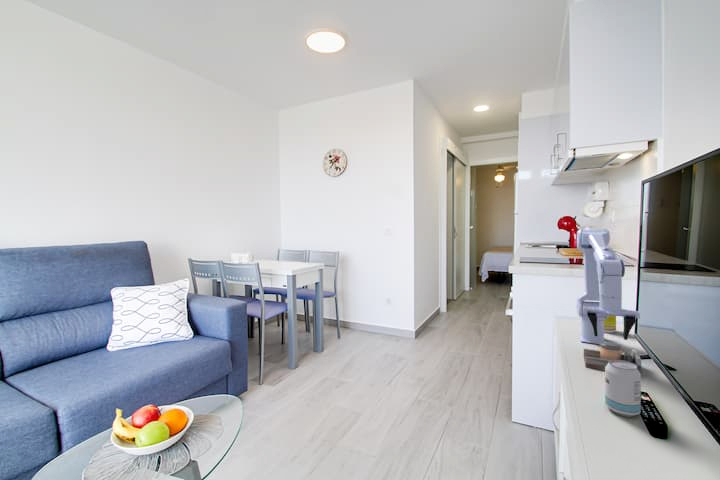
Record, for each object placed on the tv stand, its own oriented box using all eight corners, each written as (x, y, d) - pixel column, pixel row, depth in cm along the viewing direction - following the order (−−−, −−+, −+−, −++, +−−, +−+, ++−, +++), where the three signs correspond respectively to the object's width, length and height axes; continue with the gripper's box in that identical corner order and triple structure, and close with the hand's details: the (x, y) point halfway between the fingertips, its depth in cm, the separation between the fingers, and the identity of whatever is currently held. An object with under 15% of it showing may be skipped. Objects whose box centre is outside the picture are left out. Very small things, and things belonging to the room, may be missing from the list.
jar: (599, 357, 110) (599, 340, 110) (620, 361, 107) (620, 343, 107) (600, 363, 106) (600, 345, 105) (622, 367, 102) (622, 348, 102)
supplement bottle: (619, 333, 135) (619, 303, 134) (601, 333, 136) (601, 302, 136) (610, 328, 141) (610, 299, 141) (593, 328, 143) (593, 299, 142)
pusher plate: (624, 360, 107) (624, 348, 107) (627, 361, 106) (627, 349, 106) (627, 367, 102) (627, 355, 102) (631, 368, 101) (631, 355, 101)
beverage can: (605, 400, 86) (605, 356, 86) (640, 409, 82) (640, 362, 81) (604, 412, 81) (604, 365, 80) (641, 422, 76) (641, 373, 76)
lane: (583, 356, 114) (583, 342, 114) (635, 363, 107) (635, 348, 107) (585, 367, 106) (585, 352, 105) (641, 376, 98) (641, 360, 98)
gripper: (584, 296, 106) (584, 337, 106) (642, 300, 98) (641, 344, 99) (582, 292, 112) (582, 331, 113) (637, 296, 104) (637, 337, 105)
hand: (610, 337), depth 106 cm, fingers open, 7 cm apart
